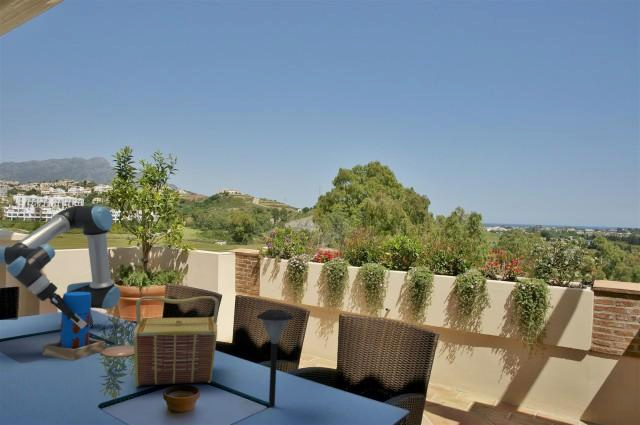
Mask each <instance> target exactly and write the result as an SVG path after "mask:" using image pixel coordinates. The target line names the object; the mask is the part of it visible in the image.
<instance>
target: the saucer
mask: <svg viewBox="0 0 640 425" xmlns="http://www.w3.org/2000/svg"><path fill="white" fill-rule="evenodd" d="M133 354H134V345H114V346H110V347H106V348H104V350H102V351H101V355H102V356H105V357H109V358H123V356H125V357H130V356H129V355H132V356H134V355H133Z"/></svg>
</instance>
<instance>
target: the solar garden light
mask: <svg viewBox="0 0 640 425" xmlns="http://www.w3.org/2000/svg"><path fill="white" fill-rule="evenodd" d="M256 318H257V319H259V320H262V323H263V326H264V327H265V330H266V332H267V335H268V339H269V340H270V343H271V345H270V348H271V349H270V366H269V368H270V369H269V371H270V372H269V390H268V391H269V393H268V394H269V396H268V407H269V408H274V407H275V404H276V387H277V386H276V384H277V383H276V382H277V359H278V344H279V340H280V338H281V336H282V334H283V332H284V330H285V328H286V326H287V324H288V322H289V321H291V320H294V319H295V316H294V315H292V314H291V313H289V312H288V311H286V310H283V309H267V310H265V311H263V312H261V313H260V314H258V315H256Z"/></svg>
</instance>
